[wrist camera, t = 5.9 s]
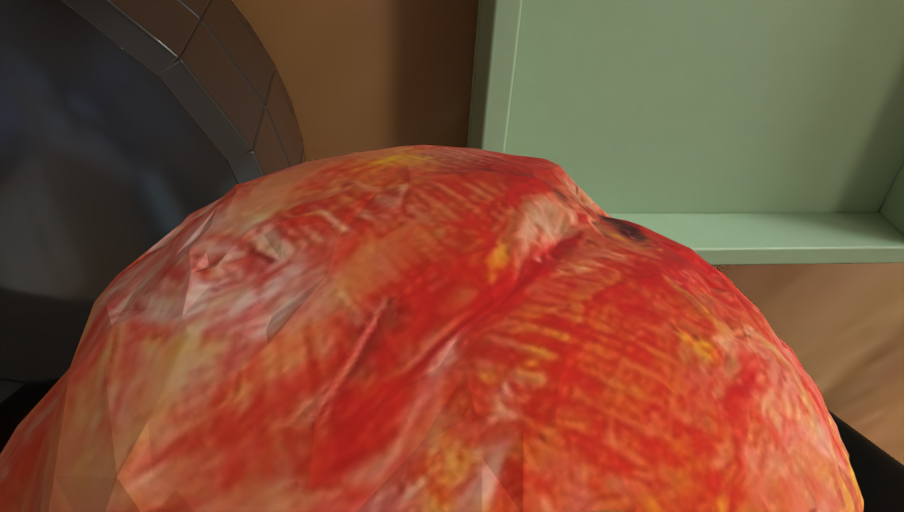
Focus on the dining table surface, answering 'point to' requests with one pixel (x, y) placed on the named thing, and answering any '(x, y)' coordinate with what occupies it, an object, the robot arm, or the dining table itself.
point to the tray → (710, 117)
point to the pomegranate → (425, 360)
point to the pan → (117, 150)
